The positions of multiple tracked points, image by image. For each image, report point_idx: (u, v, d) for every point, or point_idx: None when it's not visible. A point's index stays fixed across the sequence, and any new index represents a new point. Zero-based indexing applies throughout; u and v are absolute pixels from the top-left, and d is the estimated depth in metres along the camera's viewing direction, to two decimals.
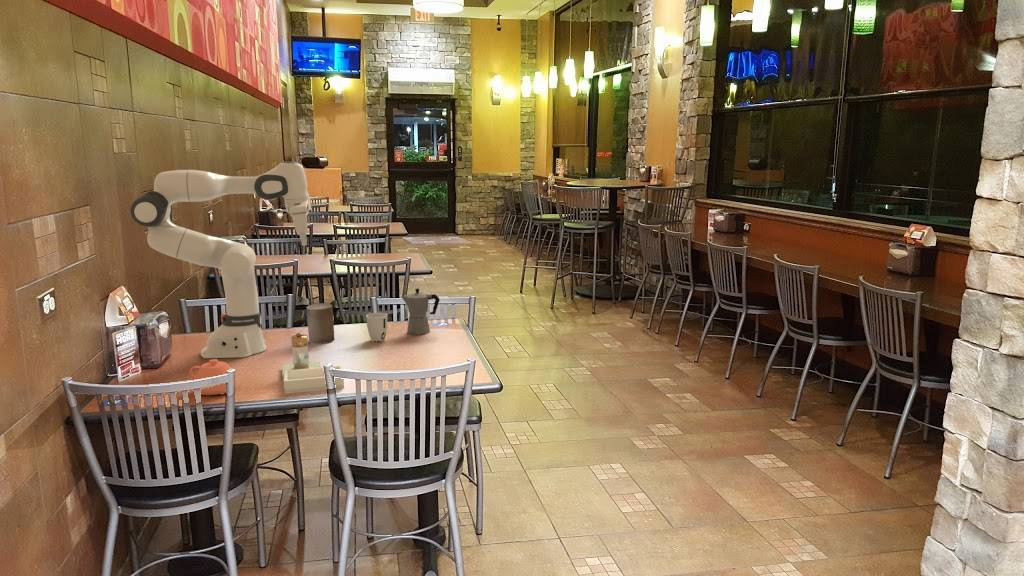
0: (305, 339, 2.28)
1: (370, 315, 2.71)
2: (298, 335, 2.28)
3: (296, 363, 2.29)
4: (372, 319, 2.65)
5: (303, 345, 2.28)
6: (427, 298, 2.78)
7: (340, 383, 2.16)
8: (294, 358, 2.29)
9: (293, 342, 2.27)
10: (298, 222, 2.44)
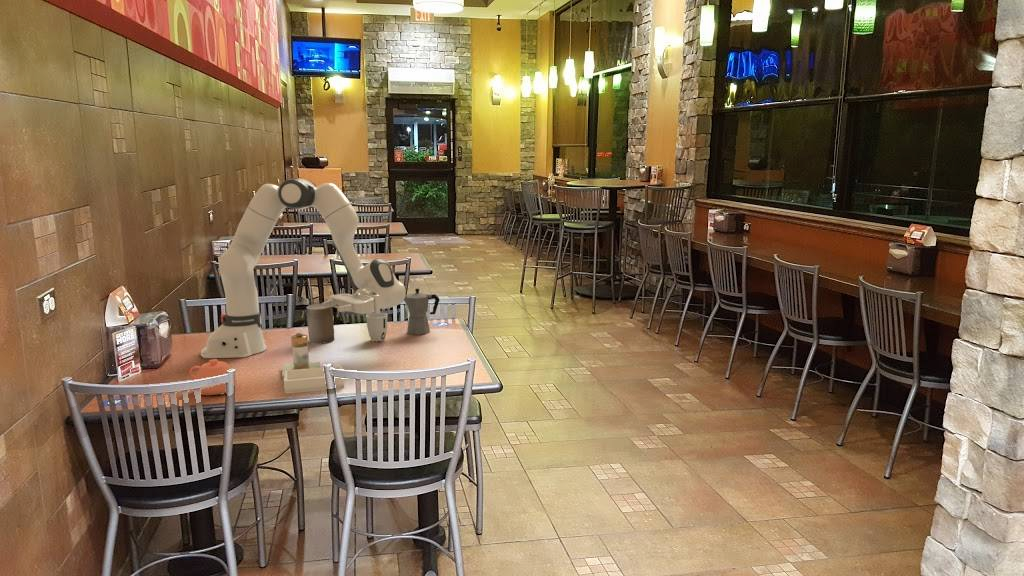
0: (305, 339, 2.28)
1: (370, 315, 2.71)
2: (298, 335, 2.28)
3: (296, 363, 2.29)
4: (372, 319, 2.65)
5: (303, 345, 2.28)
6: (427, 298, 2.78)
7: (340, 383, 2.16)
8: (294, 358, 2.29)
9: (293, 342, 2.27)
10: (369, 305, 2.36)
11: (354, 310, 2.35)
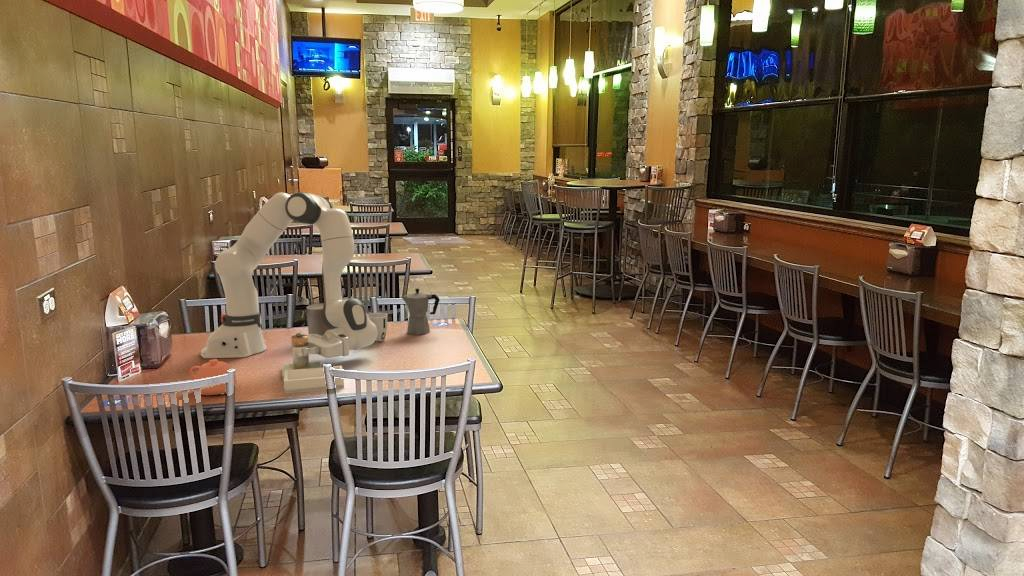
0: (305, 339, 2.28)
1: (370, 315, 2.71)
2: (298, 335, 2.28)
3: (296, 363, 2.29)
4: (372, 319, 2.65)
5: (303, 345, 2.28)
6: (427, 298, 2.78)
7: (340, 383, 2.16)
8: (294, 358, 2.29)
9: (293, 342, 2.27)
10: (337, 348, 2.29)
11: (321, 354, 2.28)
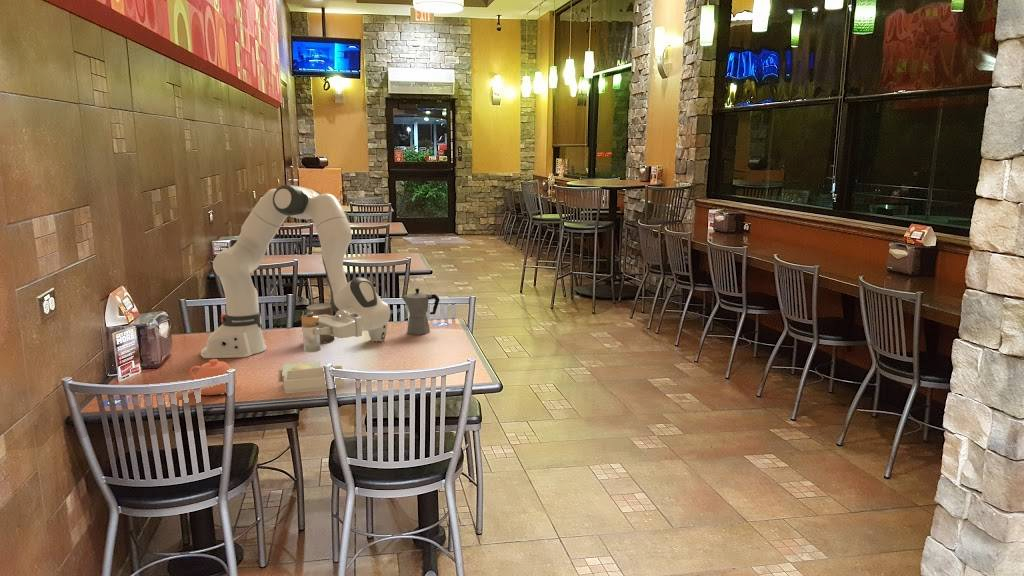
0: (316, 319, 2.16)
1: None
2: (309, 315, 2.16)
3: (306, 344, 2.17)
4: None
5: (314, 325, 2.16)
6: (427, 298, 2.78)
7: (340, 383, 2.16)
8: (305, 339, 2.17)
9: (303, 322, 2.15)
10: (350, 328, 2.17)
11: (334, 334, 2.16)
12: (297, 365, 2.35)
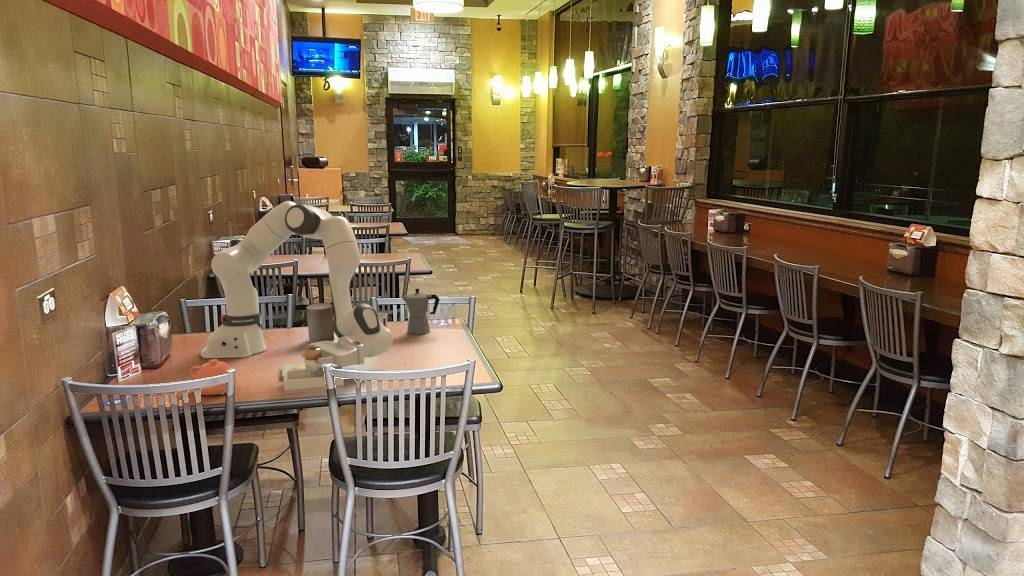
0: (319, 351, 2.16)
1: None
2: (311, 347, 2.16)
3: (309, 376, 2.16)
4: None
5: (316, 358, 2.16)
6: (427, 298, 2.78)
7: (340, 383, 2.16)
8: (307, 371, 2.17)
9: (306, 355, 2.15)
10: (352, 357, 2.17)
11: (335, 362, 2.16)
12: (297, 365, 2.35)
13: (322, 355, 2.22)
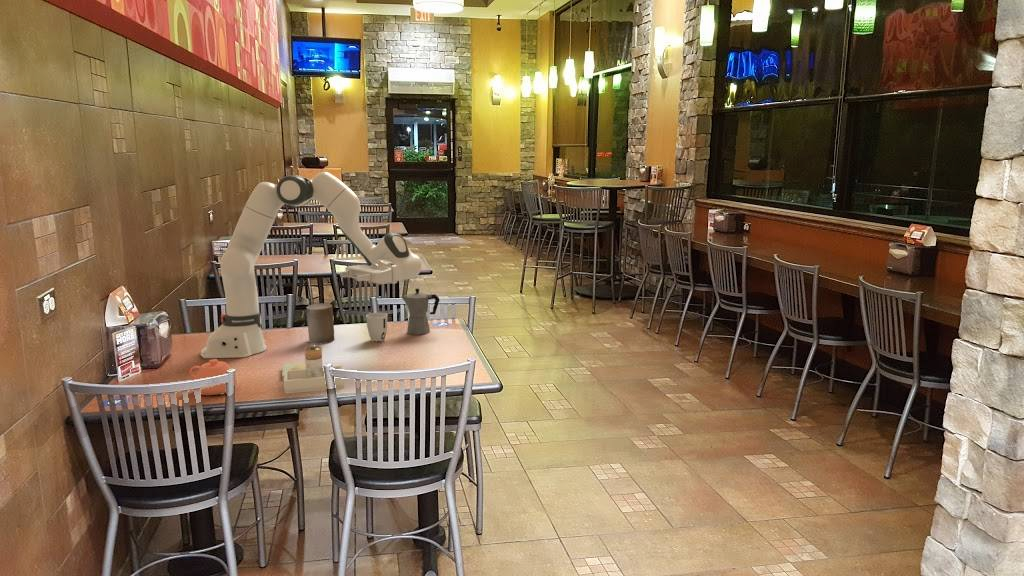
0: (319, 351, 2.16)
1: (370, 315, 2.71)
2: (312, 347, 2.16)
3: (309, 376, 2.16)
4: (372, 319, 2.65)
5: (317, 358, 2.16)
6: (427, 298, 2.78)
7: (340, 383, 2.16)
8: (307, 371, 2.17)
9: (307, 354, 2.15)
10: (387, 275, 2.38)
11: (372, 280, 2.37)
12: (297, 365, 2.35)
13: None
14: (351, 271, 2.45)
